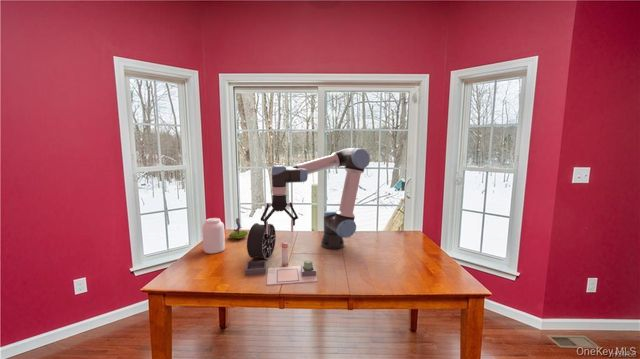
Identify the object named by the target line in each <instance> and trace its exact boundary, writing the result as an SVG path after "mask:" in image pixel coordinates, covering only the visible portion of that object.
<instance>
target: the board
mask: <svg viewBox="0 0 640 359" xmlns="http://www.w3.org/2000/svg"><path fill="white" fill-rule="evenodd" d="M301 266H302V265H296V266H294V265H293V266H281V267H280V266H278V267H267V275H266V276H267V277H266V278H267V280H266V286H276V285H290V284H291V285H292V284H304V283H316V282H318V278H317V275H316V276H305V277H302V274H301Z"/></svg>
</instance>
